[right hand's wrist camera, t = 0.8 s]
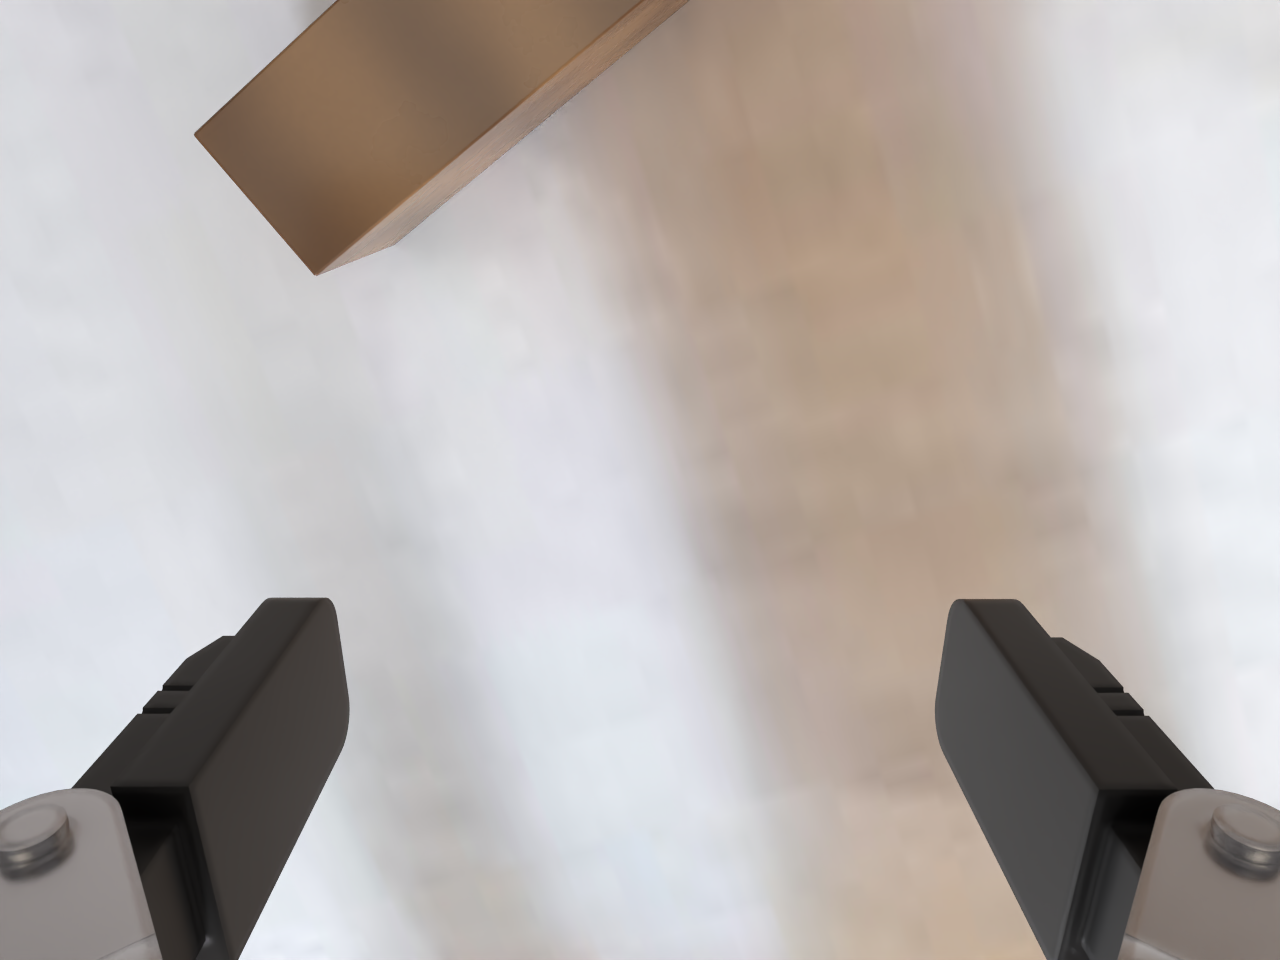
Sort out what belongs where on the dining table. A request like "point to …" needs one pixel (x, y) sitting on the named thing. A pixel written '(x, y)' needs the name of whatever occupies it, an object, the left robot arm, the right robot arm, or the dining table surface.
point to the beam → (406, 109)
